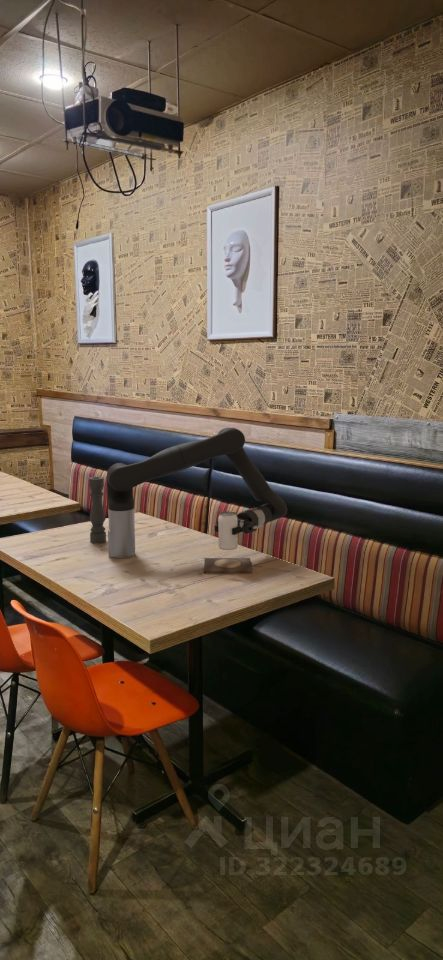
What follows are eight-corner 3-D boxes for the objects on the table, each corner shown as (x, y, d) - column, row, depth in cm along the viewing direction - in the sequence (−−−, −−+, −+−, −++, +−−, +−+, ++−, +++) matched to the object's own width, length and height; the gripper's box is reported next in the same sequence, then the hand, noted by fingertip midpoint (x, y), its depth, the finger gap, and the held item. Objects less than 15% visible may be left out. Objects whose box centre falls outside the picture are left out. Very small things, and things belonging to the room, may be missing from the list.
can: (238, 544, 231) (238, 511, 229) (236, 550, 225) (236, 515, 222) (219, 544, 232) (219, 510, 229) (217, 550, 225) (217, 515, 223)
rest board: (203, 573, 222) (203, 569, 222) (204, 560, 236) (204, 556, 236) (251, 573, 222) (251, 569, 222) (249, 560, 236) (250, 556, 236)
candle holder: (104, 543, 258) (102, 479, 253) (88, 543, 258) (86, 479, 253) (107, 539, 264) (105, 476, 259) (91, 539, 264) (89, 476, 259)
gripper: (233, 507, 242) (206, 516, 228) (267, 512, 234) (242, 522, 220) (233, 527, 243) (206, 538, 230) (267, 533, 235) (242, 544, 222)
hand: (224, 530), depth 225 cm, fingers closed on can, 6 cm apart
